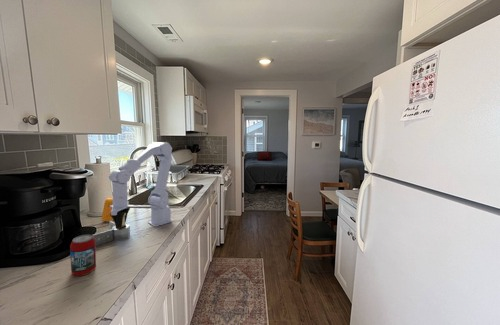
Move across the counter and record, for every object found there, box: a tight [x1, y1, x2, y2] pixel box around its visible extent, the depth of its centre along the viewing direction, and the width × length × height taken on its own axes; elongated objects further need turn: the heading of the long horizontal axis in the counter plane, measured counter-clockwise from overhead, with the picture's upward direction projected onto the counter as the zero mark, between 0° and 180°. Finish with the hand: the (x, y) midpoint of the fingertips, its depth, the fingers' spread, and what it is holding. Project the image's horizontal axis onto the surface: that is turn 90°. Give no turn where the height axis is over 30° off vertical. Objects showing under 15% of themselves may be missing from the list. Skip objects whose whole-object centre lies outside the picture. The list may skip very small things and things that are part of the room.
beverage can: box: [69, 234, 97, 277], centre depth 73 cm, size 7×7×12 cm
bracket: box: [101, 197, 114, 222], centre depth 119 cm, size 11×7×12 cm, turn 179°
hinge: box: [92, 221, 131, 247], centre depth 97 cm, size 14×14×5 cm
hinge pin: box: [118, 212, 126, 229], centre depth 98 cm, size 4×4×8 cm
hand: (120, 225), depth 98 cm, fingers closed on hinge pin, 4 cm apart
